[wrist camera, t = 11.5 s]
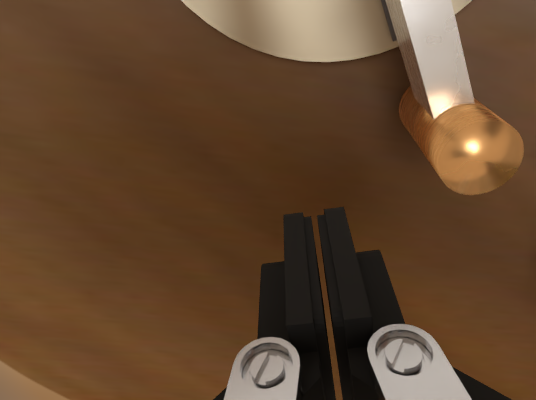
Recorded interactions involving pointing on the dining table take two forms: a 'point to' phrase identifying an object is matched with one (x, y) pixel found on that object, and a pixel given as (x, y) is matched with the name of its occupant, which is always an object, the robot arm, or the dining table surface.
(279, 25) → the base plate
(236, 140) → the dining table surface
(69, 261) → the dining table surface
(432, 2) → the crank handle
